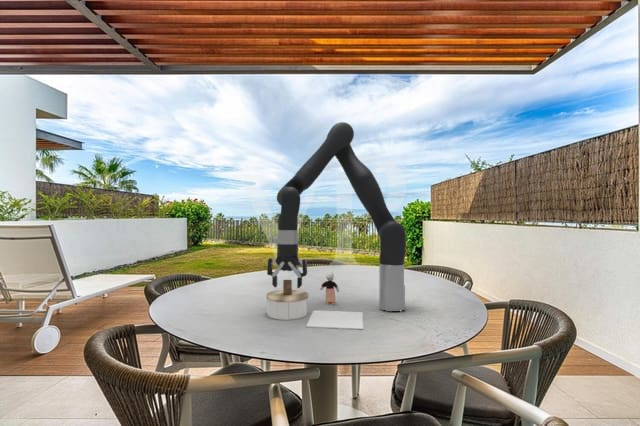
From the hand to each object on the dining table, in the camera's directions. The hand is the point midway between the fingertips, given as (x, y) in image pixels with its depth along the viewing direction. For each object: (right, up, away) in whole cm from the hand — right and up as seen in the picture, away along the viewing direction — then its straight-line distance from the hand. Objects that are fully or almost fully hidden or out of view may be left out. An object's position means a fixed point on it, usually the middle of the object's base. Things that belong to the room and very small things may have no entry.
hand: (287, 287), depth 124 cm
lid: (0, -4, 0) cm, 4 cm away
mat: (+17, -10, -7) cm, 21 cm away
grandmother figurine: (+16, -10, +14) cm, 23 cm away
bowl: (0, -10, 0) cm, 10 cm away
